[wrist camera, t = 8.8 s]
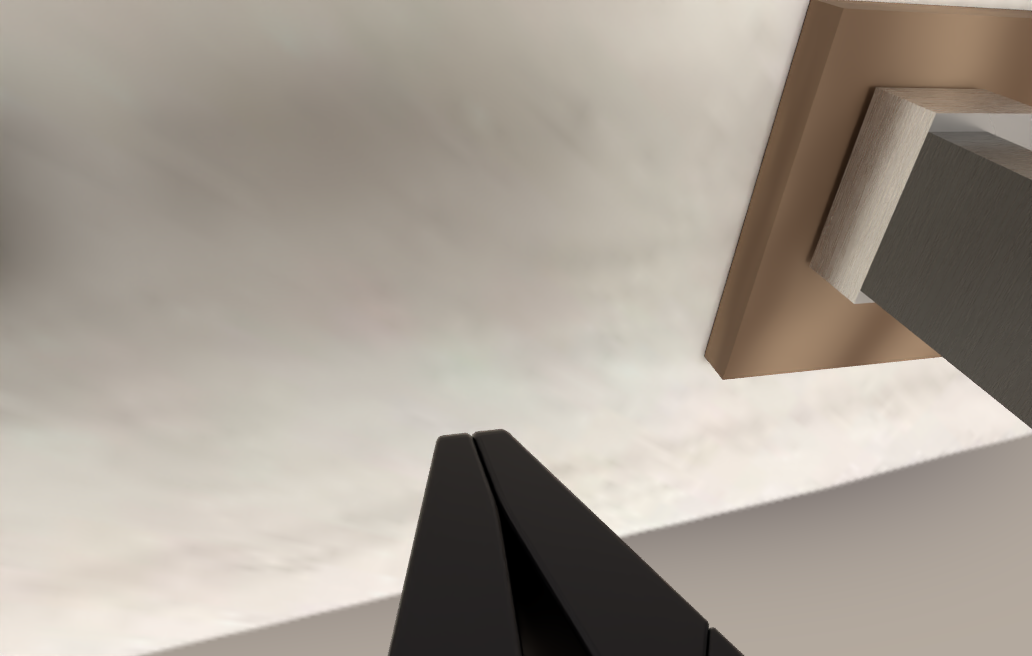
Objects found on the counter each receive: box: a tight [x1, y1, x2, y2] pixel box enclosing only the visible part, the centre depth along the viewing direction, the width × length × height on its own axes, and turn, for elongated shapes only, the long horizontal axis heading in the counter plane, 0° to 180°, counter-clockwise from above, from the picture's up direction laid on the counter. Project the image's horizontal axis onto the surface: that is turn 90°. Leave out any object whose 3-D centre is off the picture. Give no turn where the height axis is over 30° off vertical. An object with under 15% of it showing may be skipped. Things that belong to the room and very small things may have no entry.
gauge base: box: [705, 0, 1032, 380], centre depth 22 cm, size 13×13×8 cm
